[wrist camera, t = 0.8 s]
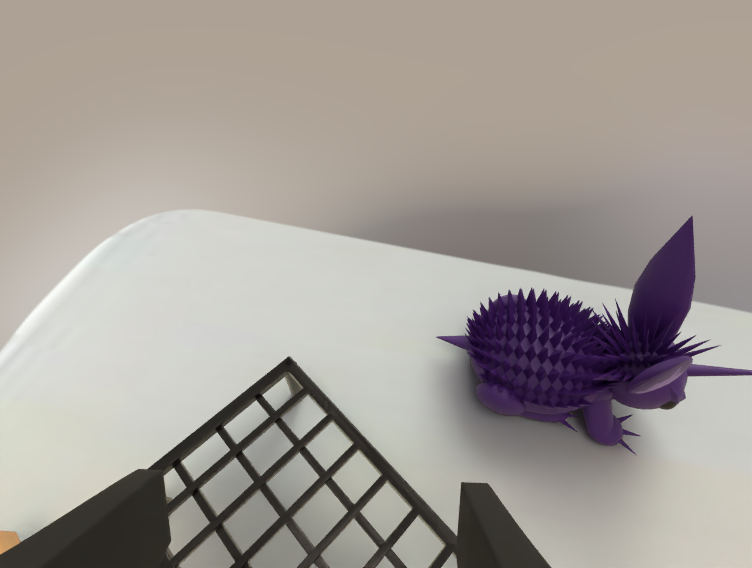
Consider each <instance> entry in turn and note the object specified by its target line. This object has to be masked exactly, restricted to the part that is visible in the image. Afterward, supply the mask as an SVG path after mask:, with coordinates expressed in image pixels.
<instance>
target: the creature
mask: <svg viewBox="0 0 752 568" xmlns="http://www.w3.org/2000/svg"><path fill="white" fill-rule="evenodd" d="M694 282H695V257H694V237H693V217H692V216H691V217H690V218H689V219H688V221H687V222H686V223H685V224H684V225H683V226H682V227H681V228H680V229H679V230H678V231H677V232H676V233H675V234H674V235H673V237H671V239H670V240H669V241H668V242H667V243H666V244H665V245H664V246H663V247H662V248H661V249H660V250H659V251H658V252H657V254H655V256H654V257H653V258H652V259H651V260H650V262H649V263H648V265H647V266H646V268H645V270H644V271H643V273H642V274H641V276H640V277H639V279H638V281H637V282H636V284H635V286H634V290H633V294H632V297H631V301H630V305H629V309H628V327H627V325H626V322H625V320H624V318H623V315H622V313H621V311H620V308H619V306H618V304H617V302H616V304H617V309H618V313H619V316H618V314H617V312H616V314H617V317H618V321H619V325H620V328H621V330H620V329H619V327H618V326H617V324H616V323H615V321H614V320H613V318H612V317H611V315H610V314H609V312H608V311H607V309H606V307H605V306H604V304H603V306H604V308H605V310H606V313H607V315H608V317H609V319H610V322H611V324H612V325H611V324H610V323H609V322H608V320H607V319H606V318H605V317H604V315H603V314H602V315H603V316H601V317H599V315H600V314H599V315H597V314H596V313H595V312H594V311H593V308H592V309H591V310H590V311H589V309H590V307H589V308H587V309H586V308H585V309H586V310H585V309H583V310H582V311H581V312H579V311H580V308H581V305H582V302H583V301H582V302H581V303H580V304H579V301H580V300H579V301H578V302H577V303H576V304H574V303H573V304H574V305H573V304H572V305H571V306H570V307H569V304H570V299H571V296H570V298H569V299H568V300H567V298H568V295H567V296H566V298H565V299H564V300H563V301H562V302H561V299H560V301H559V302H558V296H559V292H558V294H557V295H556V292H555V293H554V295H553V296H552V297H551V299H550V300H549V301H548V297H547V294H546V291H545V292H544V289H543V291H542V293H541V295H540V296H539V298H538V300H537V302H536V298H535V293H534V289H533V290H532V288H531V291H530V293H529V295H528V298H527V300H525V299H524V296H523V292H522V288H521V289H520V290H519V293H518V295H512V294H511V292H510V291H509V292H508V295H505V296H502V297H501V296H500V294H499V292H498V299H496V300H495V301H494V302H492V301H491V299H490V297H489V309H488V311H487V310H486V309H485V307H484V306H483V305H482V303H481V302H480V304H481V308H480V311H481V316H482V317H481V316H480V315H478V314H477V313H476V312H475V311H474V310H473V311H474V313H473V312H472V313H473V316H474V319H475V321H474V320H473V319H472V320H471V319H469V318H468V319H467V321H468V323H469V325H470V326H469V325H468V324H467V323H466V324H467V326H468V328H469V330H470V332H471V333H470V332H469V331H468V330H467V329H466V330H467V332H468V333H469V335H470V336H467V335H466V336H440V337H437V338H439V339H442V340H444V341H446V342H449V343H451V344H453V345H456V346H458V347H460V348H463V349H465V350H467V351H469V352H467V353H468V354H469V355H470V360H471V363H472V366H473V369H474V371H475V373H476V375H477V377H478V378H479V379H480V381H481V383H479V384H478V386H477V387H476V395H477V397H478V399H479V400H480V402H481V403H482V404H483V405H485V406H486V407H487V408H489V409H490V410H492V411H494V412H496V413H499V414H502V415H509V416H514V415H521V416H524V417H527V418H531V419H535V420H540V421H547V422H560V423H562V424H564V425H566V426H567V427H569V428H571V429H573V430H575V429H574V428H573V427H572V426H571V425H570V424H568V423H567V422H566V421H565V420H566V419H567V418H568V417H577V416H574V415H572V414H569V413H568V412H570V411H573V410H577V409H579V408H582V410H583V414H584V418H585V424H586V429H587V431H588V433H589V435H590V436H591V437H592V438H593V439H594V440H595V441H597V442H598V443H600V444H603V445H607V446H611V445H616V444H617V443H620V444H621V445H623V446H624V447H626V448H627V449H628V450H630V451H631V452H633V451H632V450H631V449H630V448H629V446H628V445H627V444H626V443H625V442H624V441H623V440H622V437H623V434H624V435H634V436H640V435H637V434H634V433H632V432H629V431H626V430H624V429H623V428H622V425H621V423H622V422H623V421H624V420H626V419H627V418H629V417H630V416H632V415H629V416H625V417H620V418H616V417H615V416H614V415H613V412H612V402H611V400H612V399H615V400H616V401H618V402H620V403H622V404H624V405H626V406H629V407H633V408H637V409H656V408H661V409H672V408H673V407H675V406H676V405H677V404H678V403H679V402H680V401H682V400H684V399H685V398H686V396H685V392H684V388H685V386H686V383H687V376H738V375H752V370H743V369H733V368H724V367H714V366H705V365H695V364H691V363H692V360H693V359H692V358H691V357H692V356H694V355H697V354H699V353H702V352H705V351H707V350H710V349H713V348H715V347H718V346H715V347H710V348H706V349H701V350H697V351H692V352H688V351H690V350H692V349H694V348H696V347H698V346H699V345H701V344H703V343H705V342H707V341H709V340H707V341H704V342H701V343H698V344H695V345H691V346H688V347H685V348H682V349H679V348H681V347H682V346H683V345H685V344H686V343H687V342H688V341H690V340H691V339H692V338H694V337H695V336H693V337H691V338H689V339H687V340H684V341H682V342H680V343H678V344H676V345H675V344H674V342H673V341H674V340H675V339H676V338H677V336H678V335H679V334H680V333H681V332H682V331H681V332H680V333H678V334H677V332H678V330H679V329H680V327H681V325H682V323H683V321H684V319H685V317H686V316H687V314H688V312H689V310H690V308H691V301H692V295H693V288H694ZM615 300H616V299H615ZM578 304H579V305H578ZM592 311H593V312H594V314H595V315H594V316H593V317H591V318H589V316H590V314H591V312H592ZM595 316H596V317H595ZM602 317H604V318H605V320H606V321H605V322H607V324H608V326H607V324H605V322H603V321H602V320H601V318H602ZM619 317H620V318H619ZM588 318H589V319H588ZM599 322H600V323H601V324H599V325H597V324H598V323H599ZM612 326H613V327H612ZM605 331H606V332H605ZM676 334H677V335H676ZM710 340H711V339H710ZM719 346H721V345H719ZM678 349H679V350H678ZM686 352H688V353H686ZM575 431H576V430H575ZM576 432H577V431H576ZM633 453H634V452H633ZM634 454H635V453H634Z"/></svg>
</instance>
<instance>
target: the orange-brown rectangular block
mask: <svg viewBox="0 0 752 568" xmlns="http://www.w3.org/2000/svg"><path fill="white" fill-rule="evenodd" d="M19 543H20V540H19V538H18V535H17V533H16V532H10V531H0V554H2V553H4V552H5V551H7V550H9V549H10V548H12V547H14V546H15V545H17V544H19Z"/></svg>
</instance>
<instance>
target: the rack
mask: <svg viewBox="0 0 752 568" xmlns="http://www.w3.org/2000/svg"><path fill="white" fill-rule="evenodd" d="M284 377H285V378H286V381H287V383H288V386H289V388H290V391H291V393H292V396H293V397H292V398H291V399H290V400H289V401H288V402H286V403H285V404H284V405H283V406H282V407H280V408H279V409H278V410H277V411H275V410H274V409H273V408H272V407H271V406H270V404H269V403H268V402H267V401H266V400H265V398H264V397H263V396H262V395H263V394H264V393H265V392H267V391H268V390H269V389H270V388H271V387H273V386H274V385H275V384H276V383H278V382H279V381H280V380H281V379H282V378H284ZM307 395H309V397H310V398H311V399H312V400H313V401H314V402H315V403H316V404H317V405H318V406H319V408H320V409H321V410H322V411H323V412H324V413H325V414H326V415H327V416H326V417H325V418H323V419H322V420H321V421H320V422H319V423H318V424H317V425H316V426H315V427H314V428H313V429H312V430H310V431H309V432H308V433H307V434H306V435H305V436H304V437H303V438H302V439H301V440H299V439H298V438H297V436H296V435H295V434H294V433H293V432H292V430H291V429H290V428H289V427H288V426H287V425H286V423H285V422H284V421H283V420H282V419H281V418H282V417H283V416H284V415H285V414H286V413H287V412H288V411H290V410H291V409H292V408H293V407H294V406H295V405H296V404H298V403H299V402H300V401H301V400H302V399H303V398H305V397H306V396H307ZM256 400H257V402H258V403H259V404H260V405H261V406H262V408H263V409H264V410H265V411H266V413H267V414H268V415H269V416H270V417H269V418H268V419H266V420H265V421H264V422H263V423H262V424H261V425H259V426H258V427H257V428H256V429H255V430H254V431H252V432H251V433H250V434H249V435H248V436H247V437H245V438H244V439H243V440H242V441H241V442H240V443H238V444H236V443H235V441H234V440H233V439H232V437H231V436H230V435H229V433H228V432H227V431H226V429H225V428H224V426H225V425H226V424H228V423H229V422H230V421H231V420H232V419H234V418H235V417H236V416H237V415H239V414H240V413H241V412H242V411H243V410H245V409H246V408H247V407H248V406H249V405H251V404H252V403H253V402H254V401H256ZM331 422H333V423H334V424H335V425H336V426H337V427H338V429H339V430H340V431H341V432H342V433H343V434H344V435H345V436H346V437H347V438H348V440H349V441H350V442H351V443H352V444H353V445H352V446H351V447H350V448H349V449H348V450H347V451H346V452H345V453H344V454H343V455H342V456H341V457H340V458H339V459H338V460H337V461H336V462H335V463H334V464H333V465H332V466H331V467H330V468H329V469H328V470H327V471H325V470H324V468H323V467H322V466H321V465H320V464H319V463H318V461H317V460H316V459H315V458H314V457H313V455H312V454H311V453H310V452H309V451H308V449H307V448H306V446H307V445H308V444H309V443H310V442H311V441H312V440H313V439H314V438H315V437H316V436H317V435H318V434H319V433H320V432H321V431H323V430H324V429H325V428H326V427H327V426H328V425H329V424H330V423H331ZM275 423H276V425H277V426H278V427H279V428H280V429H281V431H282V432H283V433H284V434H285V435H286V437H287V438H288V439H289V440H290V441H291V443H292V444H293V445H294V446H293V447H292V448H291V449H290V450H289V451H288V452H287V453H286V454H284V455H283V456H282V457H281V458H280V459H279V460H278V461H277V462H276V463H275V464H274V465H272V466H271V467H270V468H269V469H268V470H267V471H266V472H265V473H264V474H263V475H262V476H260V474H259V473H258V472H257V470H256V469H255V468H254V467H253V465H252V464H251V463H250V461H249V460H248V459H247V457H246V456H245V455H244V453H243V452H242V451H244V450H245V449H246V448H247V447H248V446H249V445H250V444H252V443H253V442H254V441H255V440H256V439H257V438H259V437H260V436H261V435H262V434H263V433H264V432H265V431H267V430H268V429H269V428H270V427H271V426H272V425H273V424H275ZM217 432H218V434H219V435H220V436H221V438H222V439H223V441H224V442H225V443H226V445H227V446H228V447H229V449H230V451H229V452H228V453H227V454H226V455H224V456H223V457H222V458H221V459H220V460H219V461H217V462H216V463H215V464H214V465H213V466H212V467H210V468H209V469H208V470H207V471H206V472H205V473H203V474H202V475H201V476H200V477H199V478H197V479H196V480H195V481H194V479H193V478H192V476H191V475H190V473H189V472H188V470H187V469H186V467H185V466H184V464H183V463H182V460H184V459H185V458H186V457H187V456H188V455H190V454H191V453H192V452H193V451H195V450H196V449H197V448H198V447H199V446H201V445H202V444H203V443H204V442H206V441H207V440H208V439H209V438H210V437H212V436H213V435H214V434H215V433H217ZM357 451H359V452H360V453H361V454H362V455H363V456H364V457H365V458H366V459H367V461H368V462H369V463H370V464H371V465H372V466H373V467H374V468H375V469H376V470H377V472H378V473H379V474H380V475H381V476H380V477H379V478H378V480H377V481H376V482H375V483H374V484H373V485H372V486H371V487H370V488H369V489H368V490H367V492H366V493H365V494H364V495H363V496H362V497H361V498H360V499H359V500H358V501H357V502H356V504H355V505H354V504H353V503H352V502H351V501H350V499H349V498H348V497H347V496H346V495H345V493H344V492H343V491H342V490H341V489H340V488H339V486H338V485H337V484H336V483H335V482H334V480H333V479H332V477H333V476H334V475H335V474H336V473H337V472H338V471H339V470H340V469H341V468H342V467H343V466H344V465H345V464H346V463H347V462H348V461H349V460H350V458H351V457H352V456H353V455H354V454H355V453H356V452H357ZM299 452H300V454H301V455H302V456H303V457H304V458H305V460H306V461H307V462H308V463H309V464H310V466H311V467H312V468H313V469H314V470H315V472H316V473H317V474H318V475H319V477H320V478H319V479H318V480H317V481H316V482H315V483H314V484H313V485H312V486H311V487H310V488H309V489H308V490H307V491H306V492H305V493H304V494H303V495H302V496H301V497H300V498H299V499H298V500H297V501H296V502H295V503H294V504H293V505H292V506H291V507H290V508H289V509H288V510H286V509H285V508H284V506H283V505H282V504H281V502H280V501H279V500H278V498H277V497H276V496H275V494H274V493H273V492H272V490H271V489H270V488H269V486H268V485H267V484H266V483H267V482H268V481H269V480H270V479H271V478H272V477H274V476H275V475H276V474H277V473H278V472H279V471H280V470H281V469H282V468H283V467H284V466H285V465H286V464H287V463H288V462H290V461H291V460H292V459H293V458H294V457H295V456H296V455H297V454H298V453H299ZM234 458H237V459H238V461H239V462H240V463H241V465H242V466H243V468H244V469H245V470H246V472H247V473H248V474H249V476H250V477H251V478H252V480H253V481H254V483H253V484H252V485H251V486H250V487H249V488H248V489H246V490H245V491H244V492H243V493H242V494H241V495H240V496H239V497H238V498H237V499H236V500H235V501H233V502H232V503H231V504H230V505H229V506H228V507H227V508H226V509H225V510H224V511H223V512H222V513H220V514H219V515H217V514H216V512H215V511H214V509H213V508H212V506H211V505H210V503H209V502H208V500H207V499H206V497H205V496H204V494H203V493H202V491H201V490H200V488H201V487H202V486H203V485H204V484H206V483H207V482H208V481H209V480H210V479H211V478H213V477H214V476H215V475H216V474H217V473H218V472H219V471H221V470H222V469H223V468H224V467H225V466H226V465H227V464H229V463H230V462H231V461H232V460H233V459H234ZM173 468H174V469H175V470H176V472H177V473H178V475H179V476H180V478H181V479H182V481H183V482H184V484H185V485H186V487H187V488H186V489H185V490H183V491H182V492H181V493H180V494H179V495H178V496H176V497H175V498H174V499H171V498H168V497H166V502H167V510H168V516H169V515H170V514H171V513H172V512H173V511H175V510H176V509H177V508H178V507H179V506H180V505H181V504H183V503H184V502H185V501H186V500H187V499H188V498H190V497H191V496H193V498H194V499H195V501H196V502H197V504H198V505H199V507H200V508H201V510H202V511H203V513H204V514H205V516H206V518H207V519H208V521H209V522H210V524H209V525H207V526H206V527H205V528H204V529H203V530H202V531H201V532H200V533H199V534H198V535H197V536H196V537H194V538H193V539H192V540H191V541H190V542H189V543H188V544H187V545H186V546H185V547H184V548H182V549H181V550H180V551H179V552H178V553H177V554H176V555H175V556H173V555H172V553H171V551H170V549H169V548H167V551H166V553H165V555H164V557H163V559H162V561H161V564H160V566H159V568H180V566H179V565H180V564H181V563H182V562H183V561H184V560H185V559H186V558H187V557H188V556H189V555H190V554H191V553H192V552H194V551H195V550H196V549H197V548H198V547H199V546H200V545H201V544H202V543H203V542H204V541H205V540H206V539H207V538H208V537H210V536H211V535H212V534H213V533H214V532H215V531H216V533H217V534H218V536H219V537H220V539H221V540H222V542H223V544H224V545H225V547H226V548H227V550H228V551H229V553H230V554H231V556H232V557H233V559H234V560H235V563H234V564H233V565H232V566H231V567H230V568H252V566H251V565H250V563H249V561H250V560H251V559H252V558H253V557H254V556H255V555H256V554H257V553H258V552H259V551H260V550H261V549H262V548H263V547H264V546H265V545H266V544H267V543H268V542H269V541H270V540H271V539H272V538H273V537H274V536H275V535H276V534H277V533H278V532H279V531H280V530H281V529H282V528H283V527H284V526H285V525H286V526H287V527H288V528H289V530H290V531H291V532H292V534H293V535H294V536H295V538H296V539H297V540H298V542H299V543H300V544H301V546H302V547H303V548H304V550H305V551H306V552H307V554H308V556H307V557H306V558H305V559H304V560H303V561H302V562H301V564H300V565H299V566H298V567H297V568H309V567H310V566H311V565H312V564H313V563H315V565H316V566H317V567H318V568H330V567H329V566H328V565H327V563H326V562H325V561H324V559H323V558H322V557H321V554H322V553H323V552H324V551H325V550H326V549H327V548H328V546H329V545H330V544H331V543H332V542H333V541H334V540H335V539H336V538H337V536H338V535H339V534H340V533H341V532H342V531H343V530H344V529H345V528H346V526H347V525H348V524H349V523H350V522H351V521H352V520H353V519H355V520H356V521H357V522H358V524H359V525H360V526H361V527H362V528H363V530H364V531H365V532H366V533H367V534H368V536H369V537H370V538H371V539H372V541H373V542H374V543H375V544H376V545H377V547H378V548H379V549H378V550H377V552H376V553H375V554H374V555H373V556H372V558H371V559H370V560H369V561H368V562H367V564H366V565H365V566H364V567H363V568H375V567H376V566H377V565H378V564H379V562H380V561H381V560H382V559H383V557H384V556H386V557H387V559H388V560H389V561H390V562H391V563H392V565H393V566H394V567H395V568H407V567H406V566H405V565H404V564H403V562H402V561H401V560H400V559H399V558H398V556H397V555H396V554H395V553H394V552H393V550H392V549H391V548H392V547H393V545H394V544H395V543H396V542H397V540H398V539H399V538H400V537H401V536H402V534H403V533H404V532H405V531H406V529H407V528H408V527H409V526H410V525H411V523H412V522H413V521H414V520H415V518H416V517H417V516H418V517H419V518H420V519H421V520H422V521H423V522H424V523H425V525H426V526H427V527H428V528H429V529H430V530H431V531H432V532H433V533H434V534H435V536H436V537H437V538H438V539H439V540H440V541H441V542H442V543H443V544H444V547H443V549H442V550H441V551H440V553H439V554H438V555H437V557H436V558H435V559H434V561H433V562H432V563H431V565H430V566H429V567H428V568H441V567H442V566H443V564H444V563H445V562H446V560H447V559H448V557H449V556H450V555H451V553H452V554H453V555H454V557H455V558H456V547H457V536H456V535H455V534H454V533H453V532H452V530H451V529H450V528H449V527H448V526H447V525H446V524H445V523H444V522H443V521H442V520H441V519H440V518H439V516H438V515H437V514H436V513H435V512H434V511H433V510H432V509H431V508H430V507H429V506H428V505H427V504H426V502H425V501H424V500H423V499H422V498H421V497H420V496H419V495H418V494H417V493H416V492H415V491H414V490H413V489H412V487H411V486H410V485H409V484H408V483H407V482H406V481H405V480H404V479H403V478H402V477H401V476H400V475H399V473H398V472H397V471H396V470H395V469H394V468H393V467H392V466H391V465H390V464H389V463H388V462H387V461H386V459H385V458H384V457H383V456H382V455H381V454H380V453H379V452H378V451H377V450H376V449H375V448H374V447H373V446H372V444H371V443H370V442H369V441H368V440H367V439H366V438H365V437H364V436H363V435H362V434H361V433H360V432H359V430H358V429H357V428H356V427H355V426H354V425H353V424H352V423H351V422H350V421H349V420H348V419H347V418H346V416H345V415H344V414H343V413H342V412H341V411H340V410H339V409H338V408H337V407H336V406H335V405H334V404H333V403H332V401H331V400H330V399H329V398H328V397H327V396H326V395H325V394H324V393H323V392H322V391H321V390H320V389H319V387H318V386H317V385H316V384H315V383H314V382H313V381H312V380H311V379H310V378H309V377H308V376H307V375H306V373H305V372H304V371H303V370H302V369H301V368H300V367H299V366H298V365H297V363H296V362H295V361H293V359H292V358H291V357H287V358H286V359H285V360H284V361H282V362H281V363H280V364H279V365H277V366H276V367H275V368H274V369H272V370H271V371H270V372H269V373H267V374H266V375H265V376H264V377H262V378H261V379H260V380H259V381H257V382H256V383H255V384H254V385H252V386H251V387H250V388H249V389H247V390H246V391H245V392H244V393H242V394H241V395H240V396H239V397H237V398H236V399H235V400H233V401H232V402H231V403H230V404H228V405H227V406H226V407H225V408H223V409H222V410H221V411H220V412H218V413H217V414H216V415H215V416H213V417H212V418H211V419H210V420H208V421H207V422H206V423H205V424H203V425H202V426H201V427H200V428H198V429H197V430H196V431H195V432H193V433H192V434H191V435H190V436H188V437H187V438H186V439H185V440H183V441H182V442H181V443H180V444H178V445H177V446H176V447H175V448H173V449H172V450H171V451H169V452H168V453H167V454H166V455H164V456H163V457H162V458H161V459H159V460H158V461H157V462H156V463H154V464H153V465H152V466H151V467H149V468H148V469H147V470H163V476H164V475H165V474H166V473H168V472H169V471H170V470H171V469H173ZM386 482H387V483H388V484H389V485H390V486H391V487H392V488H393V489H394V490H395V491H396V493H397V494H398V495H399V496H400V497H401V498H402V499H403V500H404V501H405V502H406V504H407V505H408V506H409V507H410V508H411V509H412V510H411V511H410V512H409V513H408V515H407V516H406V517H405V518H404V519H403V521H402V522H401V523H400V524H399V525H398V527H397V528H396V529H395V530H394V531H393V533H392V534H391V535H390V536H389V537H388V538H387V540H386V541H384V540H383V539H382V537H381V536H380V535H379V534H378V533H377V531H376V530H375V529H374V528H373V527H372V526H371V524H370V523H369V522H368V521H367V520H366V518H365V517H364V516H363V515H362V514H361V512H360V511H361V510H362V509H363V508H364V506H365V505H366V504H367V503H368V502H369V501H370V500H371V499H372V498H373V496H374V495H375V494H376V493H377V492H378V491H379V490H380V489H381V488H382V487H383V485H384V484H385V483H386ZM325 484H326V485H327V486H328V487H329V489H330V490H331V491H332V492H333V493H334V495H335V496H336V497H337V498H338V499H339V501H340V502H341V503H342V504H343V506H344V507H345V508H346V509H347V510H348V512H347V513H346V514H345V516H344V517H343V518H342V519H341V520H340V521H339V522H338V523H337V524H336V525H335V526H334V528H333V529H332V530H331V531H330V532H329V533H328V534H327V535H326V536H325V537H324V538H323V540H322V541H321V542H320V543H319V544H318V545H317V546H316V547H314V546H313V545H312V543H311V542H310V541H309V539H308V538H307V537H306V535H305V534H304V533H303V531H302V530H301V529H300V527H299V526H298V525H297V523H296V522H295V521H294V519H293V518H292V517H293V516H294V515H295V514H296V513H297V512H298V511H299V510H300V509H301V508H302V507H303V506H304V505H305V504H306V503H307V502H308V501H309V500H310V499H311V498H312V497H313V496H314V495H315V494H316V493H317V492H318V491H319V490H320V489H321V488H322V487H323V486H324V485H325ZM259 490H261V492H262V493H263V494H264V496H265V497H266V499H267V500H268V501H269V503H270V504H271V505H272V507H273V508H274V509H275V511H276V512H277V513H278V515H279V516H280V518H279V519H278V520H277V521H276V522H275V523H274V524H273V525H272V526H271V527H270V528H269V529H268V530H267V531H266V532H265V533H264V534H263V535H262V536H261V537H260V538H259V539H258V540H257V541H256V542H255V543H254V544H253V545H252V546H251V547H250V548H249V549H248V550H247V551H246V552H245V553H244V554H243V553H242V551H241V550H240V548H239V547H238V545H237V544H236V542H235V541H234V539H233V538H232V536H231V535H230V533H229V532H228V530H227V529H226V527H225V526H224V524H223V523H224V522H226V521H227V520H228V519H229V518H230V517H231V516H232V515H233V514H234V513H235V512H236V511H237V510H238V509H239V508H240V507H242V506H243V505H244V504H245V503H246V502H247V501H248V500H249V499H250V498H251V497H252V496H253V495H254V494H255V493H256V492H258V491H259ZM456 559H457V558H456Z"/></svg>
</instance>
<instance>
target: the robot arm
mask: <svg viewBox="0 0 752 568" xmlns="http://www.w3.org/2000/svg"><path fill="white" fill-rule="evenodd" d="M170 542H171V535H170V527H169V519H168V510H167V502H166V493H165V485H164V477H163V470H146V469H138V470H136V471H134V472H132V473H131V474H129V475H127V476H126V477H124V478H122V479H121V480H119V481H117V482H116V483H114V484H113V485H111V486H109V487H108V488H106V489H105V490H103V491H101V492H100V493H98V494H97V495H95V496H94V497H92V498H90V499H89V500H87V501H86V502H84V503H83V504H81V505H80V506H78V507H76V508H75V509H73V510H72V511H70V512H69V513H67V514H65V515H64V516H62V517H61V518H59V519H57V520H56V521H54V522H53V523H51V524H50V525H48V526H46V527H45V528H43V529H42V530H40V531H39V532H37V533H35V534H34V535H32V536H31V537H29V538H27V539H26V540H24V541H22V542H20V543H19V544H17V545H15V546H14V547H12V548H10V549H9V550H7V551H5V552H4V553H2V554H0V568H159V566H160V564H161V561H162V559H163V557H164V555H165V553H166V551H167V548H168V546H169V544H170ZM456 558H457V566H458V568H551V567H550V565H549V564H548V563H547V562H546V560H545V559H544V558H543V557H542V555H541V554H540V553H539V552H538V550H537V549H536V548H535V547H534V545H533V544H532V543H531V541H530V540H529V539H528V538H527V536H526V535H525V534H524V532H523V531H522V530H521V528H520V527H519V526H518V524H517V523H516V522H515V520H514V519H513V518H512V516H511V515H510V513H509V512H508V511H507V509H506V508H505V506H504V505H503V504H502V502H501V501H500V499H499V498H498V496H497V495H496V494H495V492H494V491H493V489H492V488H491V487H490V486H489V485H488V484H487V483H465V482H461V494H460V507H459V520H458V534H457V547H456Z"/></svg>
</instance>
